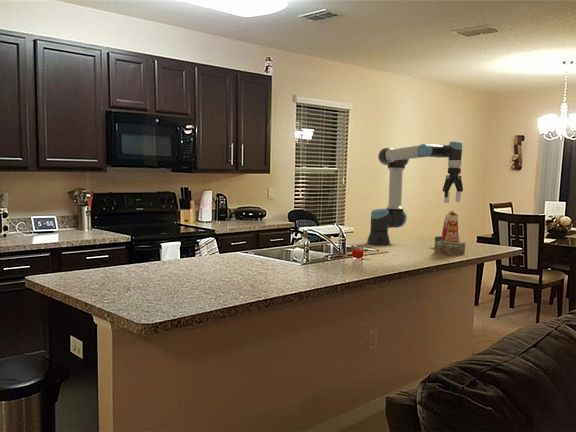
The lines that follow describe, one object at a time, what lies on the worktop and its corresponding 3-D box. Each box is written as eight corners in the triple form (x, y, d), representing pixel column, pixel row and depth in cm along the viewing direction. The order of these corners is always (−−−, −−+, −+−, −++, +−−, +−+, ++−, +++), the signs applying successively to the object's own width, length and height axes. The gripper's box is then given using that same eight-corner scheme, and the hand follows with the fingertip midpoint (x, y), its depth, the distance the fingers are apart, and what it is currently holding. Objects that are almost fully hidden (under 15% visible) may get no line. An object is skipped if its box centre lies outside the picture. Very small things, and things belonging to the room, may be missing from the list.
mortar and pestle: (431, 247, 349) (432, 229, 348) (439, 246, 355) (440, 228, 354) (446, 249, 340) (447, 231, 339) (454, 248, 346) (455, 230, 345)
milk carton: (459, 243, 319) (461, 210, 317) (444, 243, 319) (446, 210, 317) (455, 241, 328) (457, 209, 326) (440, 241, 328) (442, 209, 326)
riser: (434, 253, 325) (434, 241, 324) (445, 251, 334) (446, 240, 333) (453, 256, 315) (454, 244, 314) (464, 254, 324) (465, 242, 323)
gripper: (449, 167, 308) (447, 203, 310) (470, 167, 325) (468, 202, 327) (437, 166, 314) (435, 202, 316) (459, 167, 331) (456, 201, 333)
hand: (452, 202), depth 322 cm, fingers open, 13 cm apart
